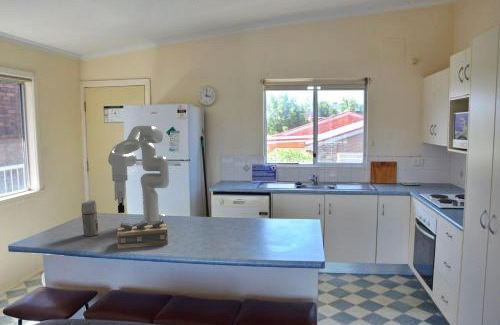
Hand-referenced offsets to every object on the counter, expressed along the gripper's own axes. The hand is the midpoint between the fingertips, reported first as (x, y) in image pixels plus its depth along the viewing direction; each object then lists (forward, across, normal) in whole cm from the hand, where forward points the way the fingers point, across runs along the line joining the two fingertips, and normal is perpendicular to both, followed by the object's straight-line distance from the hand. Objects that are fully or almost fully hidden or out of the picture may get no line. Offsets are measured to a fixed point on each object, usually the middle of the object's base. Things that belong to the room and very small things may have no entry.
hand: (121, 212), depth 207 cm
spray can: (+17, -26, -18) cm, 36 cm away
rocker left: (+7, 0, +2) cm, 8 cm away
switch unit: (+17, 0, +10) cm, 20 cm away
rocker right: (+7, 0, +18) cm, 20 cm away
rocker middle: (+7, 0, +10) cm, 13 cm away
